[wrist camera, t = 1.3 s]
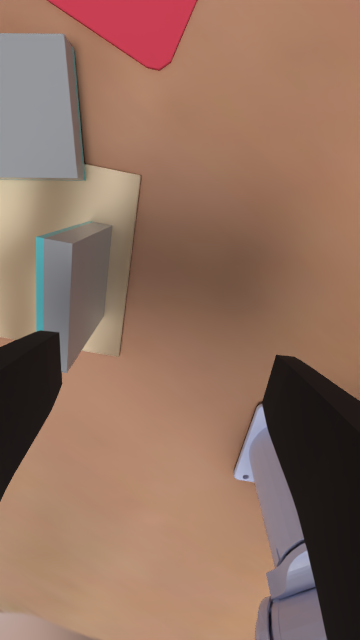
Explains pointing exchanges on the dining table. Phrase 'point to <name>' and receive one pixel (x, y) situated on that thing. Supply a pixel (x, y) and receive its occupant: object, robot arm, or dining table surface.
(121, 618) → the dining table surface
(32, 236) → the beige square board
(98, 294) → the tile
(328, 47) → the dining table surface
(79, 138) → the tile
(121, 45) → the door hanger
